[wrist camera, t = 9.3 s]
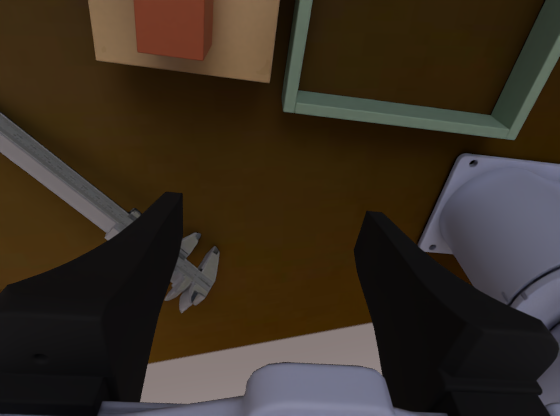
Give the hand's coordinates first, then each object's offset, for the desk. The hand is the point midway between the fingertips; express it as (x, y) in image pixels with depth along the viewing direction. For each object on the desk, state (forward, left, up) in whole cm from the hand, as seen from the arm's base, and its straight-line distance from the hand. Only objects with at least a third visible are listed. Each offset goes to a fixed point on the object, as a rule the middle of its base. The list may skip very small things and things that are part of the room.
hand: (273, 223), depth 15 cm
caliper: (+11, +4, -10) cm, 15 cm away
